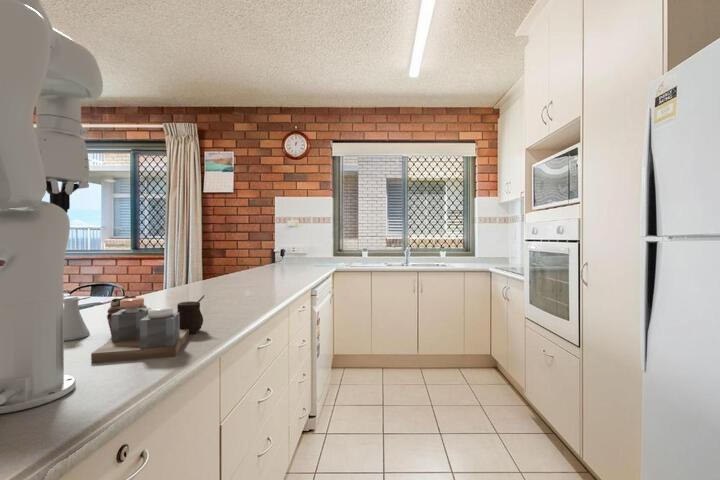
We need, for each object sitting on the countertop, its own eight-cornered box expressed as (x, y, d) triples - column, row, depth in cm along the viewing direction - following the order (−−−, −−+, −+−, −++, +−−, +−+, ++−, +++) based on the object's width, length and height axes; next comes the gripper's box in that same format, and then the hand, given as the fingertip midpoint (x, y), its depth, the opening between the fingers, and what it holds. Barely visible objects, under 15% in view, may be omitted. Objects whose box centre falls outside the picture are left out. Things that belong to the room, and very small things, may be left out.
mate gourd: (173, 330, 98) (174, 294, 98) (204, 328, 101) (204, 292, 101) (172, 337, 91) (173, 298, 91) (204, 334, 95) (205, 296, 95)
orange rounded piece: (140, 325, 83) (140, 300, 83) (116, 327, 82) (116, 301, 82) (146, 321, 88) (146, 297, 88) (124, 322, 87) (124, 298, 87)
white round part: (170, 337, 78) (170, 310, 78) (145, 339, 77) (145, 311, 77) (175, 331, 83) (174, 306, 83) (151, 333, 81) (151, 307, 81)
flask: (96, 334, 94) (96, 296, 94) (71, 342, 87) (71, 301, 87) (71, 333, 95) (71, 296, 95) (44, 341, 88) (44, 301, 88)
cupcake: (136, 339, 90) (136, 299, 90) (98, 339, 90) (97, 299, 90) (157, 329, 100) (157, 293, 99) (122, 329, 99) (122, 293, 99)
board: (175, 356, 77) (175, 319, 77) (91, 363, 73) (91, 323, 73) (188, 336, 92) (188, 305, 92) (119, 341, 87) (119, 309, 87)
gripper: (89, 139, 87) (90, 215, 87) (6, 122, 74) (7, 211, 74) (106, 135, 83) (106, 214, 83) (21, 116, 70) (22, 209, 70)
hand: (59, 212), depth 78 cm, fingers closed
